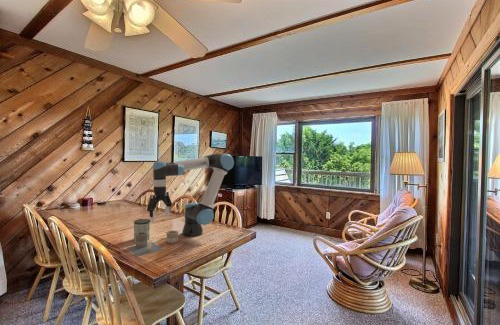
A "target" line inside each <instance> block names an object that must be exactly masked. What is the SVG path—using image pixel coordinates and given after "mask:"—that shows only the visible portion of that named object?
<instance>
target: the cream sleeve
mask: <svg viewBox="0 0 500 325" xmlns="http://www.w3.org/2000/svg"><path fill="white" fill-rule="evenodd" d="M178 242H179V231H178V230H168V231H167V232H166V244H168V245H175V244H178Z"/></svg>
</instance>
